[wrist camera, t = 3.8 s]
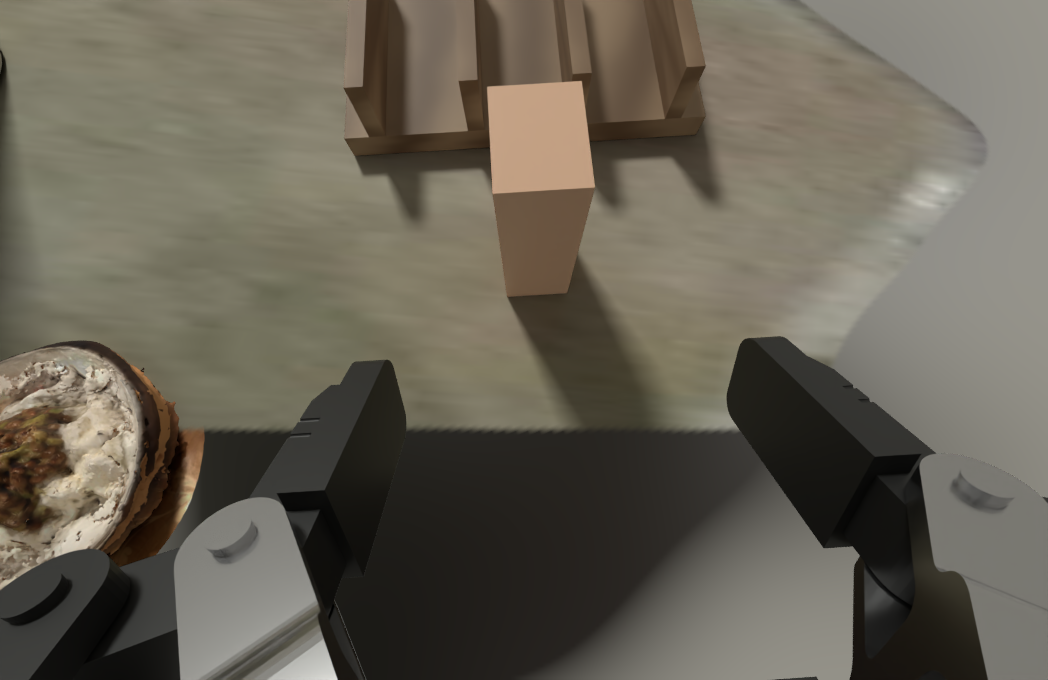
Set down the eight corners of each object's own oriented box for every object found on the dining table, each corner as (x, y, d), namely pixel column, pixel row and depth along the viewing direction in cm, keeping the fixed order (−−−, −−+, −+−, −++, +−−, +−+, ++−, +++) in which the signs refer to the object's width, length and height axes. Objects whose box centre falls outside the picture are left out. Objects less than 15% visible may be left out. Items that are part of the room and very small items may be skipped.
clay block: (507, 296, 23) (492, 193, 14) (503, 227, 25) (487, 86, 15) (567, 293, 23) (595, 187, 14) (560, 223, 25) (581, 81, 15)
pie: (-58, 359, 23) (-180, 341, 19) (205, 307, 24) (140, 279, 20) (-102, 650, 20) (-264, 703, 16) (209, 579, 20) (131, 613, 16)
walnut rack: (354, 155, 26) (314, 89, 21) (361, 12, 29) (327, -75, 24) (695, 134, 26) (734, 64, 21) (667, -6, 29) (695, -96, 24)
